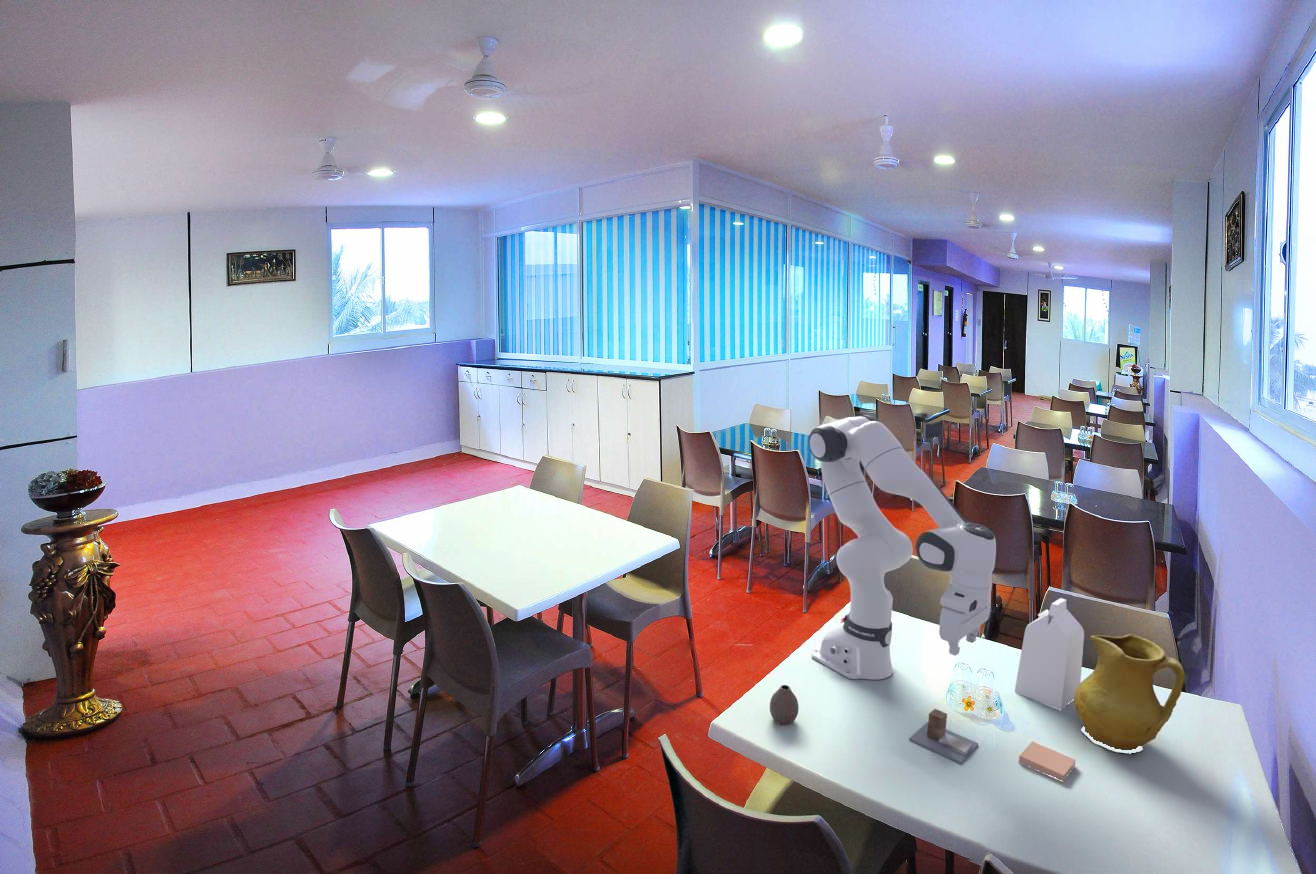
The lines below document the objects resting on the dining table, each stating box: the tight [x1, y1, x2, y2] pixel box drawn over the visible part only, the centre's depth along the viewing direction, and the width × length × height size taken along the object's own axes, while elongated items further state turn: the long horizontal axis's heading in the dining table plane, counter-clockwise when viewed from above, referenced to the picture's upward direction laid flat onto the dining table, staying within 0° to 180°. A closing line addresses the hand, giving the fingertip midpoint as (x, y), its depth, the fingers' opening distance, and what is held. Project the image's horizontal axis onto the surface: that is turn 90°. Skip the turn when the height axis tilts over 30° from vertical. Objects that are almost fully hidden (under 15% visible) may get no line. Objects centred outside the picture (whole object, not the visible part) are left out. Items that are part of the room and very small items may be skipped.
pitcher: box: [1073, 633, 1185, 750], centre depth 161 cm, size 17×19×25 cm
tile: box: [1018, 741, 1077, 782], centre depth 153 cm, size 2×8×9 cm
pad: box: [908, 721, 979, 765], centre depth 160 cm, size 12×10×1 cm
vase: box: [769, 684, 800, 726], centre depth 167 cm, size 7×7×9 cm
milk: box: [1014, 597, 1085, 711], centre depth 181 cm, size 12×12×26 cm
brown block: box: [927, 708, 972, 755], centre depth 159 cm, size 9×4×6 cm, turn 45°
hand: (962, 647), depth 164 cm, fingers open, 8 cm apart
